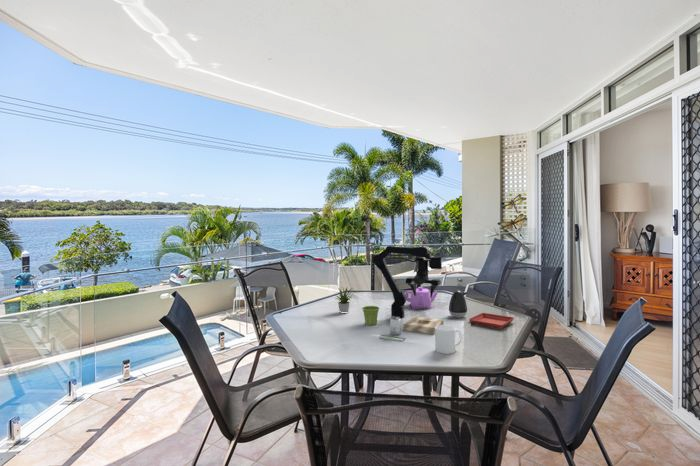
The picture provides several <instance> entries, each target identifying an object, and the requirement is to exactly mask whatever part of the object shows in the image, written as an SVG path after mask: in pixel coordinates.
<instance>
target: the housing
mask: <svg viewBox="0 0 700 466" xmlns="http://www.w3.org/2000/svg"><path fill="white" fill-rule="evenodd" d="M444 321H445V320H444V319H440V318H430V317H422V316H415V315H414V316H413V317H411V318H410V319H408V320H407V321H405V322H403V325H402V326H403V331H409V332H417V333H424V334H430V335H435V327H436V326H438V325H445V324H444Z"/></svg>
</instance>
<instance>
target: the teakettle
mask: <svg viewBox="0 0 700 466" xmlns="http://www.w3.org/2000/svg"><path fill="white" fill-rule="evenodd" d="M430 292H431V291H430V289H428V288H424V287H423V286H418V287H417V288H416V296H414V293H413V290H405V295H406V301H407V302H408V303H410V306H411V308H412V309H426V310H427V309H431V305H432V303H434V300H435V298H436V297H437V295H438V293H439V292H438V291H434V293H433V295H432V297H430ZM409 294H410V297H409Z"/></svg>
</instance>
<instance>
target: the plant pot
mask: <svg viewBox="0 0 700 466" xmlns="http://www.w3.org/2000/svg"><path fill="white" fill-rule="evenodd" d="M361 309H362V312H363V315H364V316H363V317H364V324H365V325H368V326H375V325H377V323H378V314H379V310H380V306H377V305H366V306H365V305H364V306H363V307H362V308H361Z"/></svg>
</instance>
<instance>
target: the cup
mask: <svg viewBox="0 0 700 466" xmlns="http://www.w3.org/2000/svg"><path fill="white" fill-rule="evenodd" d="M456 333H458V341H457V342H456ZM462 338H463V337H462V332H461V330H460V329H458V328H456V327H454V326H453V325H450V324H444V325H438V326H436V327H435V334H434V342H435V343H434V344H435V345H434V346H435V351H436V352H437V353H439V354H443V355H452V354H454V353H455V352H456V347H457V346H460V344H461V343H462Z"/></svg>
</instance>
